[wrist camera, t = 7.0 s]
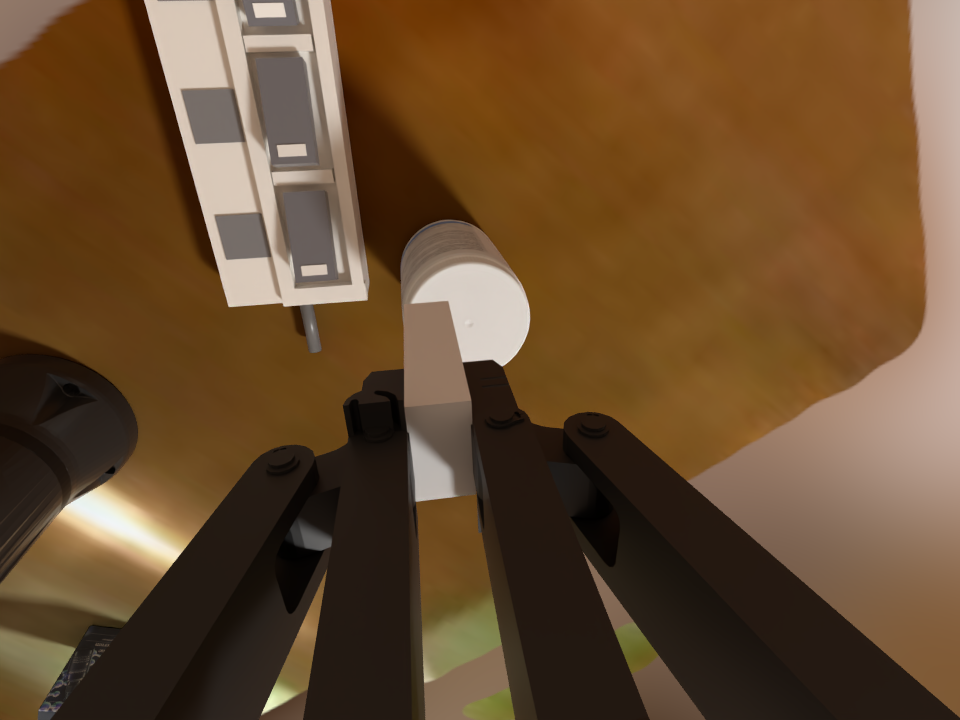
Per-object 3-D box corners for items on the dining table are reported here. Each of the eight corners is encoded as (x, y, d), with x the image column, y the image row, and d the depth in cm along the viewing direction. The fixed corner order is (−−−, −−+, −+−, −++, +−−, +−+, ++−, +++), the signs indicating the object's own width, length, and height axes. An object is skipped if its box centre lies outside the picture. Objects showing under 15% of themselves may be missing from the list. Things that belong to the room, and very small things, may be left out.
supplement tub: (384, 285, 50) (377, 349, 37) (428, 198, 47) (438, 233, 34) (469, 326, 53) (491, 399, 40) (516, 247, 50) (556, 297, 37)
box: (157, 630, 66) (117, 716, 57) (153, 657, 68) (113, 745, 59) (89, 623, 64) (35, 711, 55) (87, 651, 66) (35, 741, 57)
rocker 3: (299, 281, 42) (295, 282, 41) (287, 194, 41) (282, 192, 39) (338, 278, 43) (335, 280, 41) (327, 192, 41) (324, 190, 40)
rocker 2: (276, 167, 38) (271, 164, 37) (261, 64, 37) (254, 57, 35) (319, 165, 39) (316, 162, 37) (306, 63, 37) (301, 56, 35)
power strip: (256, 348, 51) (242, 372, 46) (132, -127, 34) (92, -161, 30) (378, 338, 52) (375, 360, 48) (314, -125, 36) (301, -158, 31)
